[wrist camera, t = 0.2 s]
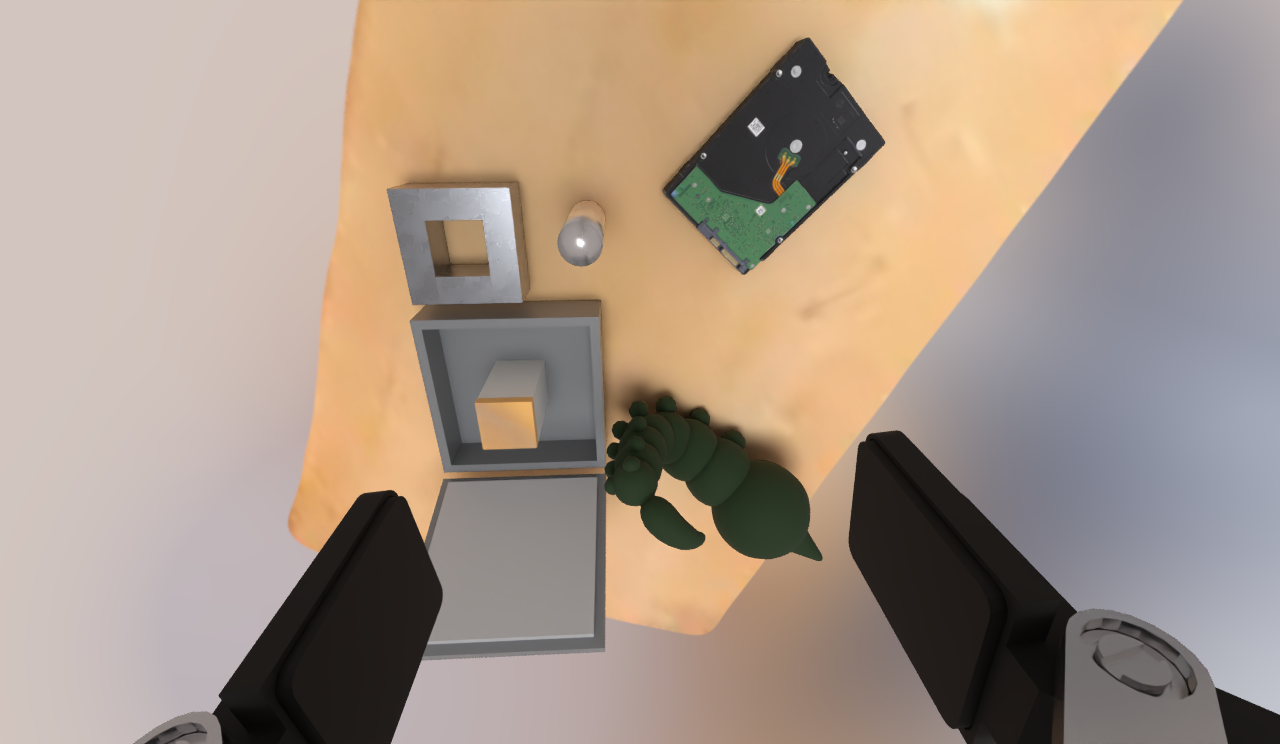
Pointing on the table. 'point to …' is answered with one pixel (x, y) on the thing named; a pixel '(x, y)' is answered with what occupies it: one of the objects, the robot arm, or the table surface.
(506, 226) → the socket block
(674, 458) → the toy figurine
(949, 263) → the table surface
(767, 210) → the disk drive
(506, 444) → the block
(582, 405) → the case
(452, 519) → the lid
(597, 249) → the rod
